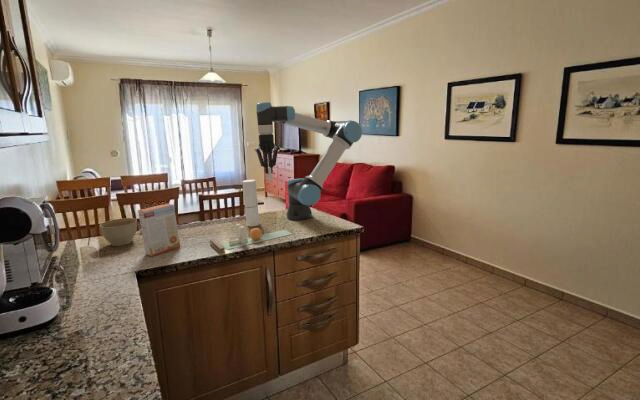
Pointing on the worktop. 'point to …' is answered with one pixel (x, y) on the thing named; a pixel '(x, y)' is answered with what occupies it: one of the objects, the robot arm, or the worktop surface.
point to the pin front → (236, 241)
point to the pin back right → (238, 230)
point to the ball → (255, 234)
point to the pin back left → (242, 235)
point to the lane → (263, 238)
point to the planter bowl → (119, 231)
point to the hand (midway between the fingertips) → (269, 179)
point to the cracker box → (159, 229)
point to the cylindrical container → (250, 202)
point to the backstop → (217, 246)
